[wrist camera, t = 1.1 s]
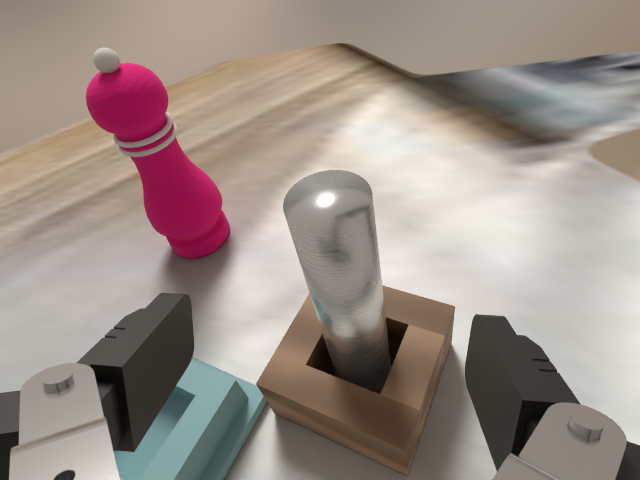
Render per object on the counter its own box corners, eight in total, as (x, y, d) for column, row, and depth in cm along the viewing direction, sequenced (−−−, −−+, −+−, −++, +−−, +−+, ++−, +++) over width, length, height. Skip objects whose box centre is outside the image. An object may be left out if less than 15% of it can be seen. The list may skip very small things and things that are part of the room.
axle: (351, 346, 34) (308, 164, 21) (399, 364, 33) (385, 178, 20) (329, 392, 32) (266, 220, 19) (380, 413, 30) (349, 241, 17)
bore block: (333, 305, 37) (323, 268, 34) (451, 343, 33) (454, 306, 29) (274, 413, 32) (256, 384, 28) (407, 476, 28) (405, 450, 24)
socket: (154, 343, 38) (132, 318, 35) (270, 396, 33) (255, 371, 30) (44, 485, 31) (5, 469, 28) (168, 578, 26) (137, 569, 23)
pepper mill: (184, 211, 49) (85, 32, 35) (243, 212, 47) (165, 23, 33) (156, 261, 45) (29, 77, 30) (221, 264, 43) (118, 69, 28)
